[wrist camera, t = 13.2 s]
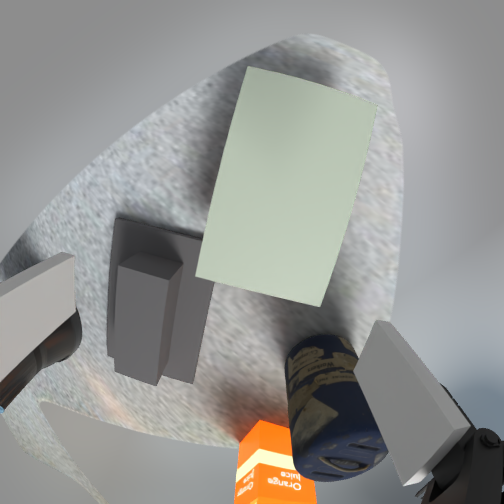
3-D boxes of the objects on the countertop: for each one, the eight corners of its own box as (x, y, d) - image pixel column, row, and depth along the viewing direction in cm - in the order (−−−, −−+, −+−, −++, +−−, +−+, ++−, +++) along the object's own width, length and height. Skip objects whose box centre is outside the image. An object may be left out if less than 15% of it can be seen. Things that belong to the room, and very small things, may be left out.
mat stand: (110, 352, 37) (90, 377, 30) (119, 217, 32) (90, 227, 25) (194, 379, 37) (183, 411, 31) (223, 244, 32) (213, 260, 26)
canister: (324, 315, 34) (366, 424, 16) (366, 355, 35) (415, 455, 18) (268, 361, 36) (269, 477, 18) (314, 395, 37) (334, 500, 20)
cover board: (201, 267, 27) (195, 276, 24) (249, 75, 22) (247, 66, 20) (315, 295, 27) (319, 306, 24) (367, 110, 22) (377, 105, 20)
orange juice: (284, 455, 41) (288, 550, 22) (238, 443, 41) (229, 543, 21) (308, 432, 40) (321, 536, 20) (259, 418, 39) (256, 532, 20)
